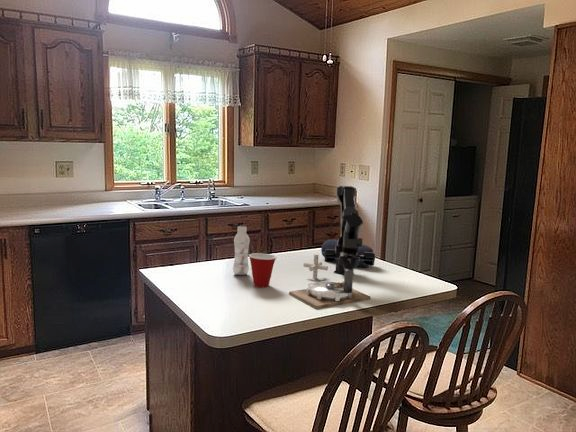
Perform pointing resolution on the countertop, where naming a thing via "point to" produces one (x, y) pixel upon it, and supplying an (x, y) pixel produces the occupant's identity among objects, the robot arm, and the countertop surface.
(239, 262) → the plastic bottle
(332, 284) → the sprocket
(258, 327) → the countertop surface
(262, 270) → the plastic cup
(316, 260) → the pipe connector
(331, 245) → the portable speaker
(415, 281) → the countertop surface
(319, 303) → the base board
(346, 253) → the robot arm
